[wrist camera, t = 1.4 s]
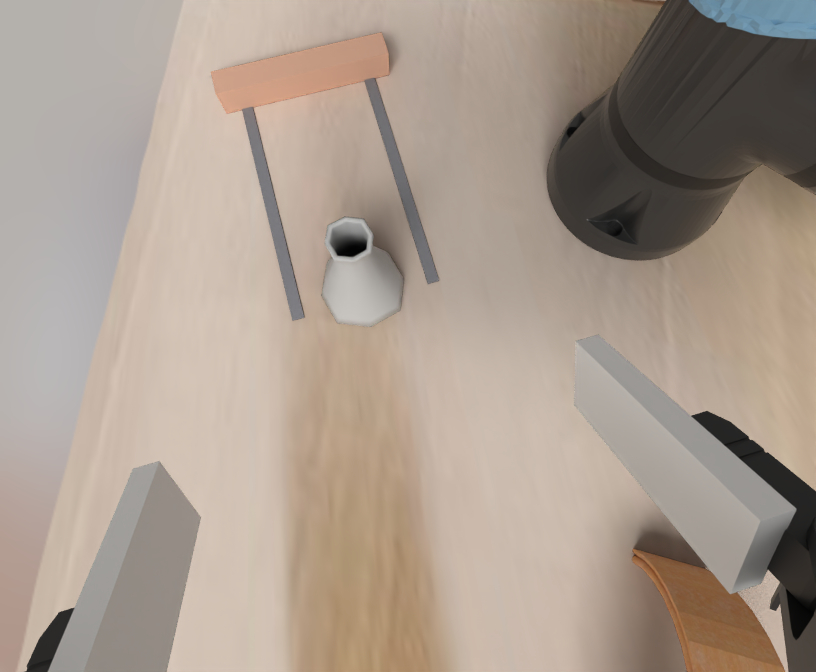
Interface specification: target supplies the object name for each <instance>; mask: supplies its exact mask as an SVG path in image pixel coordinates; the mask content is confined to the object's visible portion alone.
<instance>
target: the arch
mask: <svg viewBox="0 0 816 672" xmlns="http://www.w3.org/2000/svg"><path fill="white" fill-rule="evenodd" d="M633 552H634V553H635V554H636V556H633V558H632V561H633V562H634V563H635V564H636V565H638V566H639V567H641V568H642V569H643V570H644V571H645V572H646V573H647V574H648V576H649V577H650V578H651V579H652V580H653V582H654V583H655V585H656V587H657V588H658V590H659V592H660V593H661V595H662V597H663V599H664V601H665V603H666V605H667V608H668V610H669V612H670V614H671V617H672V619H673V622H674V625H675V628H676V631H677V634H678V637H679V640H680V643H681V647H682V651H683V655H684V660H685V664H686V669H687V672H785V670H784V667H783V665H782V663H781V661H780V659H779V657H778V655H777V653H776V651H775V649H774V647H773V645H772V643H771V641H770V639H769V637H768V635H767V633H766V632H765V630H764V629H763V627H762V625H761V624H760V622H759V621H758V619H757V618H756V616H755V614H754V613H753V611H752V610H751V609H750V607H749V606H748V605H747V604H746V603H745V601H744V600H743V599H742V598H741V597H740V595H739V594H738V593H737V592H735V593H733V594H729V592H728V591H727V590H726V589H725V588H724V586H723V585H722V584H721V583H720V582H719V580H718V579H717V578H716V577H715V575H714V574H713V573H712V572H710V571H709V570H707V569H704V568H701V567H697V566H693V565H690V564H686V563H683V562H679V561H676V560H672V559H668V558H665V557H661V556H658V555H654V554H651V553H647V552H643V551H640V550H636V549H633Z"/></svg>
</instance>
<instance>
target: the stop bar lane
mask: <svg viewBox="0 0 816 672" xmlns="http://www.w3.org/2000/svg"><path fill="white" fill-rule="evenodd" d="M211 75H212V79H213V84H214V88H215V93H216V95H217V97H218V99H219V100H220V102H221V104H222V106H223V108H224V109H225V111H226V113H231V112H236V111H240V110H242V111H243V115H244V119H245V124H246V128H247V132H248V136H249V140H250V145H251V149H252V153H253V157H254V161H255V165H256V170H257V174H258V178H259V182H260V186H261V191H262V195H263V199H264V203H265V207H266V211H267V216H268V220H269V224H270V228H271V232H272V237H273V241H274V245H275V249H276V253H277V258H278V262H279V266H280V270H281V274H282V278H283V283H284V287H285V291H286V295H287V299H288V304H289V308H290V312H291V316H292V320H293V321H294V320H297V319H301V318H304V314H303V310H302V306H301V302H300V298H299V294H298V290H297V286H296V282H295V278H294V274H293V269H292V265H291V261H290V257H289V253H288V249H287V245H286V241H285V237H284V233H283V229H282V225H281V221H280V216H279V212H278V208H277V204H276V200H275V196H274V192H273V188H272V184H271V180H270V176H269V172H268V167H267V163H266V159H265V155H264V151H263V147H262V143H261V139H260V135H259V131H258V127H257V123H256V118H255V114H254V110H253V107H257V106H261V105H265V104H269V103H273V102H278V101H282V100H286V99H290V98H294V97H299V96H303V95H307V94H311V93H315V92H320V91H324V90H328V89H332V88H336V87H340V86H345V85H349V84H353V83H357V82H361V81H365V84H366V87H367V90H368V93H369V97H370V100H371V103H372V106H373V109H374V113H375V116H376V119H377V122H378V125H379V129H380V132H381V135H382V138H383V141H384V145H385V148H386V151H387V154H388V158H389V161H390V164H391V167H392V170H393V174H394V177H395V180H396V183H397V186H398V190H399V193H400V196H401V199H402V202H403V206H404V209H405V212H406V215H407V218H408V222H409V225H410V228H411V231H412V234H413V238H414V241H415V244H416V247H417V251H418V254H419V257H420V260H421V263H422V267H423V270H424V273H425V276H426V279H427V283H428V284H430V283H433V282H437V281H439V279H438V276H437V273H436V269H435V266H434V263H433V260H432V257H431V254H430V251H429V247H428V244H427V241H426V238H425V235H424V232H423V229H422V225H421V222H420V219H419V216H418V213H417V210H416V207H415V203H414V200H413V197H412V194H411V191H410V188H409V185H408V181H407V178H406V175H405V172H404V169H403V166H402V163H401V159H400V156H399V153H398V150H397V147H396V144H395V141H394V137H393V134H392V131H391V128H390V125H389V122H388V119H387V115H386V112H385V109H384V106H383V103H382V100H381V97H380V93H379V90H378V87H377V84H376V81H375V78H378V77H382V76H387V75H389V53H388V50H387V47H386V44H385V41H384V38H383V35H382V32H380V33H376V34H372V35H367V36H363V37H359V38H355V39H350V40H346V41H342V42H337V43H333V44H329V45H324V46H320V47H316V48H311V49H307V50H303V51H298V52H294V53H290V54H285V55H281V56H277V57H272V58H268V59H264V60H259V61H255V62H251V63H247V64H242V65H238V66H234V67H229V68H225V69H221V70H216V71H212V72H211Z"/></svg>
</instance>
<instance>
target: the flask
mask: <svg viewBox="0 0 816 672" xmlns="http://www.w3.org/2000/svg"><path fill="white" fill-rule="evenodd" d="M373 237H374V235H373V233H372V231H371V230H370V228H369V226H368V225H367V223H366V221H365V220H364V219H363V218H354V217H343V218H341V219H339V220H337V221H335V222H333V223H331V224H329V225H328V226H327V232H326V238H325V246H326V247H327V249H328V251H329V253H330V254H331V256H332V257H331V258H330V260H329V261H328V262H327V264H326V270H325V276H324V282H323V288H322V294H321V295H322V297H323V299H324V301H325V302H326V304H327V306H328V308H329V310H330V311H331V313H332V315H333V317H334V318H335V320H336V322H337V323H340V324H348V325H357V326H366V327H372V326H374V325H375V324H377V323H379V322H381V321H383V320H384V319H386V318H388V317H390V316H392V315H393V314H395V313H397V312H399V311H400V308H401V300H402V292H403V284H404V278H403V277H402V275H401V273H400V272H399V270H398V268H397V267H396V265H395V263H394V262H393V260H392V258H391V257H390V255H389V254H388V252H386V251H384V250H382V249H379V248H377V247H375V246H374V245H372V244H373Z"/></svg>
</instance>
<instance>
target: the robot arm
mask: <svg viewBox="0 0 816 672" xmlns="http://www.w3.org/2000/svg"><path fill="white" fill-rule="evenodd" d="M762 164H764V165H766V166H767V167H769V168H771V169H772V170H774V171H776V172H777V173H779V174H781V175H783V176H785V177H786V178H788V179H790V180H792V181H793V182H795V183H797V184H798V185H800V186H801V187H803V188H804V189H806V190H808V191H810V192H811V193H813V194H815V195H816V0H666V2H665V3H664V5H663V7H662V8H661V10H660V11H659V13H658V15H657V16H656V18H655V19H654V21H653V23H652V24H651V26H650V28H649V29H648V31H647V32H646V34H645V36H644V37H643V39H642V41H641V42H640V44H639V45H638V47H637V49H636V50H635V52H634V54H633V55H632V57H631V58H630V60H629V62H628V63H627V65H626V66H625V68H624V70H623V72H622V73H621V75H620V77H619V78H618V80H617V82H616V83H615V84H614V85H613V86H611V87H610V88H609V89H608V90H606V91H605V92H604V93H603V94H602V95H600V96H599V97H598V98H597V99H595V100H594V101H593V102H592V103H591V104H589V105H588V106H587V107H586V108H584V109H583V110H582V111H581V112H580V113H578V114H577V115H576V116H575V117H574V118H573V119H572V120H571V122H570V123H569V124H568V125H567V127H566V128H565V130H564V131H563V133H562V135H561V136H560V138H559V140H558V142H557V144H556V146H555V148H554V150H553V152H552V154H551V157H550V160H549V164H548V171H547V183H548V191H549V195H550V198H551V201H552V204H553V206H554V209H555V211H556V212H557V214H558V216H559V217H560V219H561V220H562V222H563V223H564V225H565V226H566V227H567V228H568V229H569V230H570V231H571V232H572V233H573V234H574V235H575V236H576V237H577V238H578V239H580V240H581V241H582V242H584V243H585V244H587V245H588V246H590V247H592V248H593V249H595V250H597V251H599V252H602V253H604V254H607V255H610V256H613V257H617V258H621V259H627V260H651V259H657V258H661V257H665V256H668V255H670V254H673V253H675V252H677V251H679V250H681V249H682V248H684V247H685V246H687V245H688V244H690V243H691V242H693V241H694V240H696V239H697V238H699V237H700V236H701V235H703V234H704V233H705V232H706V231H707V230H708V229H709V228H710V227H711V226H712V225H713V224H714V223H715V222H716V220H717V219H718V217H719V216H720V214H721V213H722V211H723V209H724V207H725V206H726V205H727V203H728V202H729V200H730V199H731V197H732V196H733V194H734V193H735V191H736V189H737V188H738V186H739V185H740V183H741V181H742V180H743V178H744V177H745V176H746V175H748V174H749V173H750V172H752V171H753V170H754V169H756V168H757V167H758V166H760V165H762ZM574 406H575V407H576V408H577V409H578V410H579V412H580V413H581V414H582V415H583V416H584V418H585V419H586V420H587V421H588V423H589V424H590V425H591V426H592V427H593V429H594V430H595V431H596V432H597V433H598V435H599V436H600V437H601V438H602V440H603V441H604V442H605V443H606V444H607V446H608V447H609V448H610V449H611V450H612V452H613V453H614V454H615V455H616V457H617V458H618V459H619V460H620V461H621V463H622V464H623V465H624V466H625V467H626V469H627V470H628V471H629V472H630V473H631V475H632V476H633V477H634V478H635V480H636V481H637V482H638V483H639V484H640V486H641V487H642V488H643V489H644V490H645V492H646V493H647V494H648V495H649V497H650V498H651V499H652V500H653V501H654V503H655V504H656V505H657V506H658V507H659V509H660V510H661V511H662V512H663V514H664V515H665V516H666V517H667V518H668V520H669V521H670V522H671V523H672V524H673V526H674V527H675V528H676V529H677V531H678V532H679V533H680V534H681V535H682V537H683V538H684V539H685V540H686V541H687V543H688V544H689V545H690V546H691V548H692V549H693V550H694V551H695V552H696V554H697V555H698V556H699V557H700V558H701V560H702V561H703V562H704V563H705V565H706V566H707V567H708V568H709V569H710V571H711V572H712V573H713V574H714V575H715V577H716V578H717V579H718V580H719V582H720V583H721V584H722V585H723V586H724V588H725V589H726V590H727V591H728V592H729V594H733V593H735V592H738V591H741V590H744V589H747V588H750V587H753V586H756V585H759V584H761V583H762V580H763V578H764V576H765V574H766V572H767V570H769V571H770V572H771V573H772V574H773V575H774V576H775V577H776V578H777V579H778V580H779V581H780V584H779V586H778V587H777V589H776V591H775V593H774V595H773V597H772V599H771V604H770V609H772V610H775V611H776V610H777V608H778V606H779V604H780V606H781V614H782V622H783V630H784V638H785V646H786V654H787V662H788V670H789V672H816V491H815V490H813V489H812V488H811V487H810V486H809V485H807V484H806V483H805V482H804V481H802V480H801V479H800V478H799V477H797V476H796V475H795V474H794V473H793V472H791V471H790V470H789V469H788V468H786V467H785V466H784V465H783V464H781V463H780V462H779V461H778V460H777V459H775V458H774V457H773V456H772V455H770V454H769V453H768V452H767V453H766V452H765V451H764V449H763V448H762V447H761V446H759V445H758V444H757V443H756V442H754V441H753V440H750V439H749V437H748V436H747V435H746V434H745V433H743V432H742V431H741V430H740V429H738V428H737V427H736V426H735V425H733V424H732V423H731V422H730V421H727V420H725V419H723V418H721V417H719V416H717V415H715V414H712V413H710V412H708V411H705V412H702V413H699V414H695V415H692V416H690V415H689V414H688V413H687V412H686V411H685V410H683V409H682V408H681V407H680V406H679V405H678V404H677V403H676V402H674V401H673V400H672V399H671V398H670V397H669V396H668V395H666V394H665V393H664V392H663V391H662V390H661V389H660V388H658V387H657V386H656V385H655V384H654V383H653V382H652V381H651V380H649V379H648V378H647V377H646V376H645V375H644V374H643V373H641V372H640V371H639V370H638V369H637V368H636V367H635V366H633V365H632V364H631V363H630V362H629V361H628V360H627V359H625V358H624V357H623V356H622V355H621V354H620V353H619V352H618V351H616V350H615V349H614V348H613V347H612V346H611V345H610V344H608V343H607V342H606V341H605V340H604V339H603V338H602V337H600V336H599V335H595V336H592V337H588V338H585V339H581V340H578V341H576V353H575V394H574ZM200 519H201V517H200V515H199V514H198V513H197V511H196V510H195V509H194V507H193V506H192V505H191V503H190V502H189V501H188V499H187V498H186V497H185V495H184V494H183V492H182V491H181V490H180V488H179V487H178V486H177V484H176V483H175V482H174V480H173V479H172V478H171V476H170V475H169V474H168V472H167V471H166V469H165V468H164V467H163V465H162V464H161V463H160V461H158V462H155V463H151V464H148V465H144V466H141V467H138V468H134V469H133V470H132V473H131V475H130V477H129V480H128V482H127V485H126V487H125V489H124V492H123V494H122V496H121V499H120V501H119V504H118V506H117V508H116V511H115V513H114V515H113V518H112V520H111V523H110V525H109V527H108V530H107V532H106V534H105V537H104V539H103V542H102V544H101V546H100V549H99V551H98V553H97V556H96V558H95V561H94V563H93V565H92V568H91V570H90V573H89V575H88V577H87V580H86V582H85V584H84V587H83V589H82V592H81V594H80V596H79V599H78V601H77V603H76V606H75V608H71V609H68V610H65V611H62V612H59V613H58V615H57V616H56V617H55V619H54V620H53V621H52V623H51V624H50V625H49V627H48V628H47V629H46V631H45V632H44V633H43V635H42V636H41V637H40V639H39V641H38V643H37V645H36V647H35V649H34V651H33V654H32V656H31V658H30V660H29V662H28V664H27V671H25V672H167V667H168V663H169V658H170V654H171V649H172V645H173V640H174V636H175V631H176V627H177V622H178V618H179V613H180V609H181V604H182V600H183V595H184V591H185V586H186V582H187V577H188V573H189V568H190V564H191V559H192V555H193V550H194V546H195V541H196V537H197V532H198V528H199V523H200Z"/></svg>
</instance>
